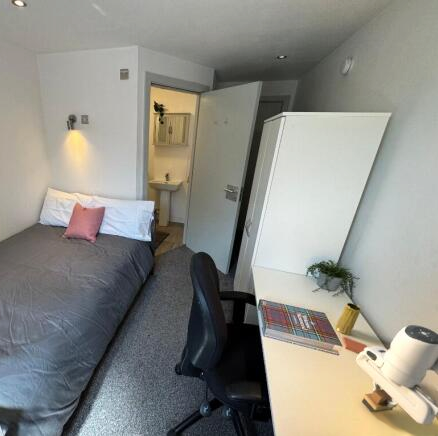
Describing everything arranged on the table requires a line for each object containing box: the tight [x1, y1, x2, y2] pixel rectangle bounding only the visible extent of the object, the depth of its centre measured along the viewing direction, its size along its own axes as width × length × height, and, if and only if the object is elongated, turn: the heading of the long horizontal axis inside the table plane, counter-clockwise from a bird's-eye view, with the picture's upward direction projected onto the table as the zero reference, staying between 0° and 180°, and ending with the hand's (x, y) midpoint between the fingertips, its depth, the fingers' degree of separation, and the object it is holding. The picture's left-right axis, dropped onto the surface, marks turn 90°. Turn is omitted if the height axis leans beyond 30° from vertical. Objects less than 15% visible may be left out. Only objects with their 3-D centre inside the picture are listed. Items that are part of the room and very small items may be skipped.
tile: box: [342, 336, 368, 354], centre depth 101 cm, size 8×6×1 cm
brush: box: [361, 389, 398, 413], centre depth 77 cm, size 8×4×6 cm, turn 97°
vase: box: [334, 302, 362, 336], centre depth 108 cm, size 6×6×14 cm
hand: (382, 398), depth 77 cm, fingers closed on brush, 2 cm apart
